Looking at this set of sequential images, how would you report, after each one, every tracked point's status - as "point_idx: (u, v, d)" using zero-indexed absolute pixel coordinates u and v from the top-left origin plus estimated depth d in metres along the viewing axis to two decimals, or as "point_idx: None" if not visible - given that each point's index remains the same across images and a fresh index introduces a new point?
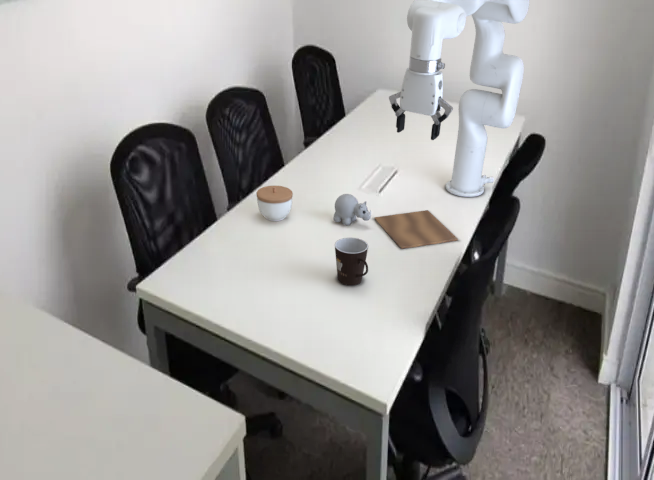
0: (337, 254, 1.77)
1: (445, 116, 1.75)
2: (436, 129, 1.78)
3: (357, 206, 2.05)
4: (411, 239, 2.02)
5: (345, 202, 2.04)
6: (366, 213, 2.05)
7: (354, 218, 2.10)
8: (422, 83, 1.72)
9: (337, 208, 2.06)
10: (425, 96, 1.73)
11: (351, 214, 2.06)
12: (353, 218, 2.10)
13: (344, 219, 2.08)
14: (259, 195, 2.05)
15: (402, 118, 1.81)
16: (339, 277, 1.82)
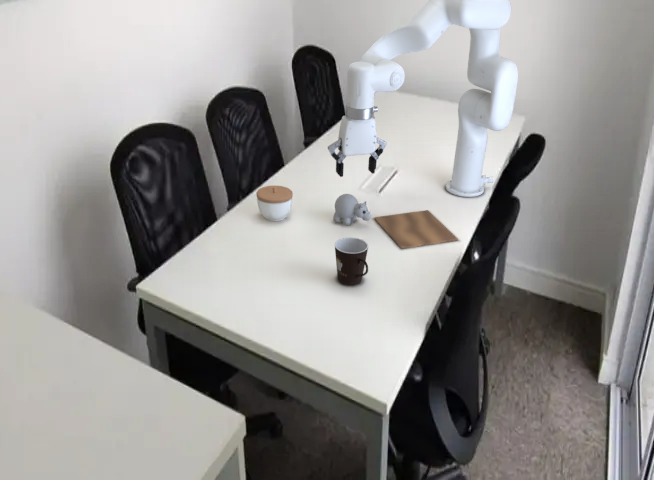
0: (337, 254, 1.77)
1: (382, 150, 1.98)
2: (375, 163, 1.99)
3: (357, 206, 2.05)
4: (411, 239, 2.02)
5: (345, 202, 2.04)
6: (366, 213, 2.05)
7: (354, 218, 2.10)
8: (365, 128, 1.90)
9: (337, 208, 2.06)
10: (368, 138, 1.92)
11: (351, 214, 2.06)
12: (353, 218, 2.10)
13: (344, 219, 2.08)
14: (259, 195, 2.05)
15: None
16: (339, 277, 1.82)
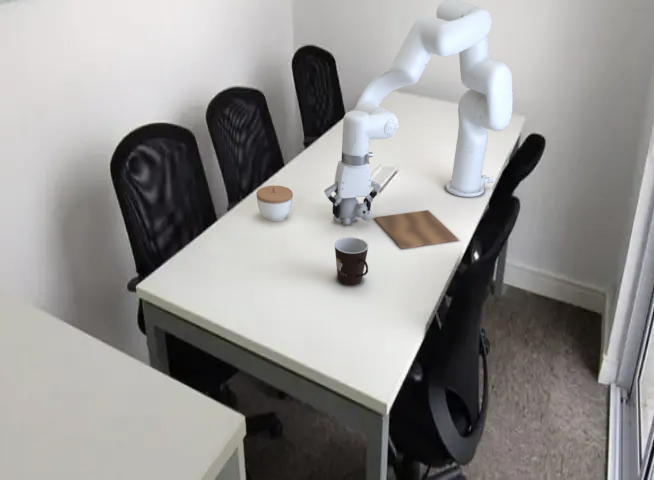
0: (337, 254, 1.77)
1: (376, 193, 2.06)
2: None
3: (357, 206, 2.05)
4: (411, 239, 2.02)
5: (344, 202, 2.04)
6: (366, 213, 2.05)
7: (354, 218, 2.10)
8: (360, 173, 1.98)
9: None
10: (363, 182, 2.00)
11: (351, 214, 2.06)
12: (353, 218, 2.10)
13: (344, 219, 2.08)
14: (259, 195, 2.05)
15: None
16: (339, 277, 1.82)
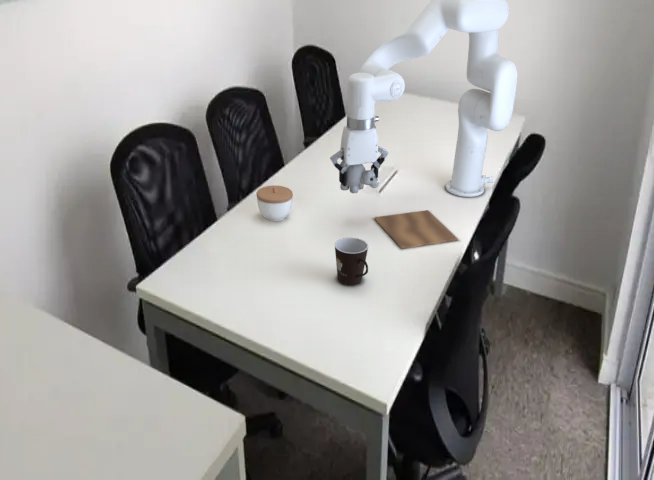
0: (337, 254, 1.77)
1: (384, 159, 2.00)
2: (377, 172, 2.01)
3: (364, 173, 1.99)
4: (411, 239, 2.02)
5: (351, 169, 1.99)
6: (374, 180, 1.99)
7: (362, 186, 2.05)
8: (366, 138, 1.92)
9: None
10: (370, 148, 1.94)
11: (358, 182, 2.01)
12: (361, 186, 2.04)
13: (351, 187, 2.02)
14: (259, 195, 2.05)
15: None
16: (339, 277, 1.82)
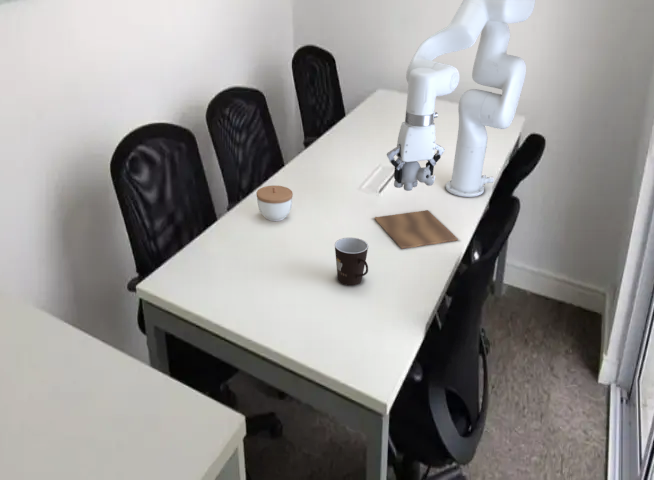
0: (337, 254, 1.77)
1: (439, 156, 1.97)
2: None
3: (420, 170, 1.96)
4: (411, 239, 2.02)
5: (407, 166, 1.95)
6: (429, 177, 1.96)
7: (416, 183, 2.01)
8: (425, 134, 1.89)
9: None
10: (427, 144, 1.91)
11: (413, 179, 1.97)
12: (415, 183, 2.01)
13: (406, 184, 1.99)
14: (259, 195, 2.05)
15: None
16: (339, 277, 1.82)
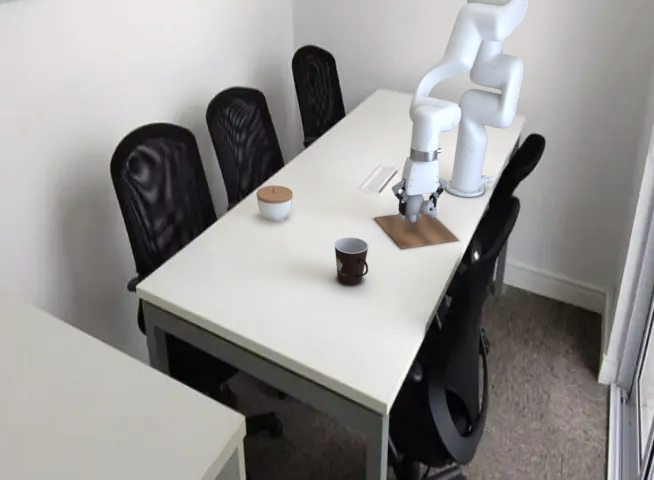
0: (337, 254, 1.77)
1: (443, 189, 2.02)
2: None
3: (424, 203, 2.01)
4: (411, 239, 2.02)
5: (411, 199, 2.01)
6: (433, 210, 2.02)
7: (419, 215, 2.07)
8: (429, 169, 1.95)
9: None
10: (431, 179, 1.97)
11: (417, 211, 2.03)
12: (418, 215, 2.07)
13: (410, 216, 2.04)
14: (259, 195, 2.05)
15: None
16: (339, 277, 1.82)
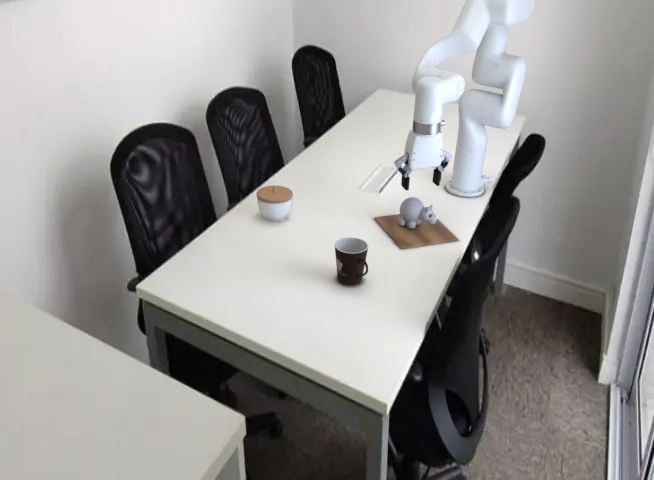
0: (337, 254, 1.77)
1: (447, 162, 1.98)
2: (440, 176, 2.00)
3: (423, 210, 2.03)
4: (411, 239, 2.02)
5: (411, 206, 2.02)
6: (432, 217, 2.03)
7: (419, 222, 2.08)
8: (432, 142, 1.90)
9: (403, 211, 2.04)
10: (435, 152, 1.92)
11: (417, 218, 2.04)
12: (418, 222, 2.08)
13: (409, 223, 2.06)
14: (259, 195, 2.05)
15: None
16: (339, 277, 1.82)
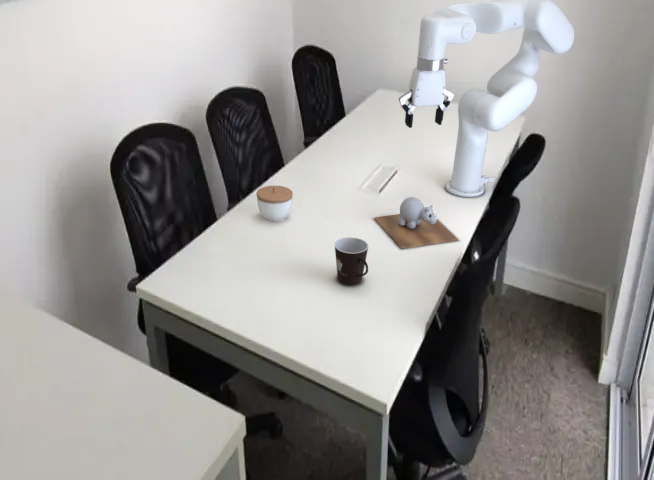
0: (337, 254, 1.77)
1: (449, 102, 2.06)
2: None
3: (423, 210, 2.03)
4: (411, 239, 2.02)
5: (411, 206, 2.02)
6: (432, 217, 2.03)
7: (419, 222, 2.08)
8: (435, 79, 1.98)
9: (403, 211, 2.04)
10: (437, 89, 2.01)
11: (417, 218, 2.04)
12: (418, 222, 2.08)
13: (409, 223, 2.06)
14: (259, 195, 2.05)
15: None
16: (339, 277, 1.82)
